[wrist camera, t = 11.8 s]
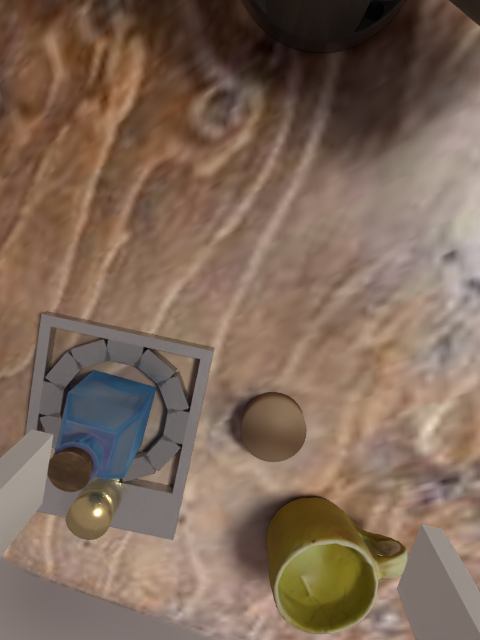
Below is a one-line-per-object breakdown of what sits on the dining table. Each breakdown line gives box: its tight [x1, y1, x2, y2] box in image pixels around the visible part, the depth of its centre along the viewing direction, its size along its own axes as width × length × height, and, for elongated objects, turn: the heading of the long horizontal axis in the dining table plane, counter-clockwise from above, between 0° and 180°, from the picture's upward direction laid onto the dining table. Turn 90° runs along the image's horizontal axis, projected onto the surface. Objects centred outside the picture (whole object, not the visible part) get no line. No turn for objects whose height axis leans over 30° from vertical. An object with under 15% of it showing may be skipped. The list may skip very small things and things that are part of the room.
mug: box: [266, 497, 408, 634], centre depth 42 cm, size 12×10×10 cm
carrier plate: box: [25, 312, 214, 540], centre depth 42 cm, size 20×16×4 cm
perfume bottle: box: [47, 370, 156, 492], centre depth 38 cm, size 6×6×12 cm
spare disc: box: [241, 392, 306, 462], centre depth 43 cm, size 6×6×2 cm
